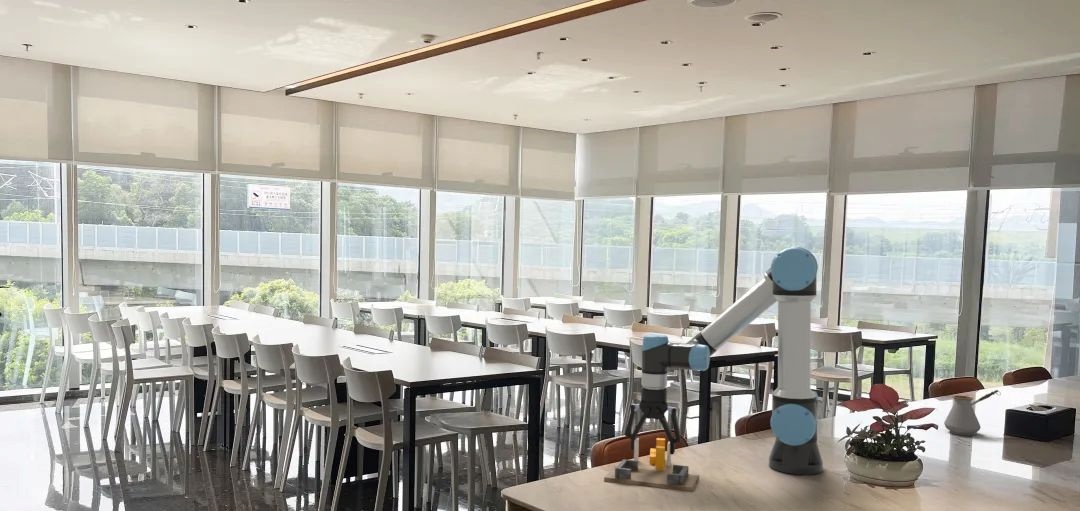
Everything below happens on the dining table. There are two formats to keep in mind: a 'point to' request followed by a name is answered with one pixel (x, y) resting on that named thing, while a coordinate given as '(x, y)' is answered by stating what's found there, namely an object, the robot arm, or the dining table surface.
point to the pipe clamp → (658, 454)
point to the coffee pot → (964, 415)
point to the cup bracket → (652, 476)
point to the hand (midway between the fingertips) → (652, 462)
